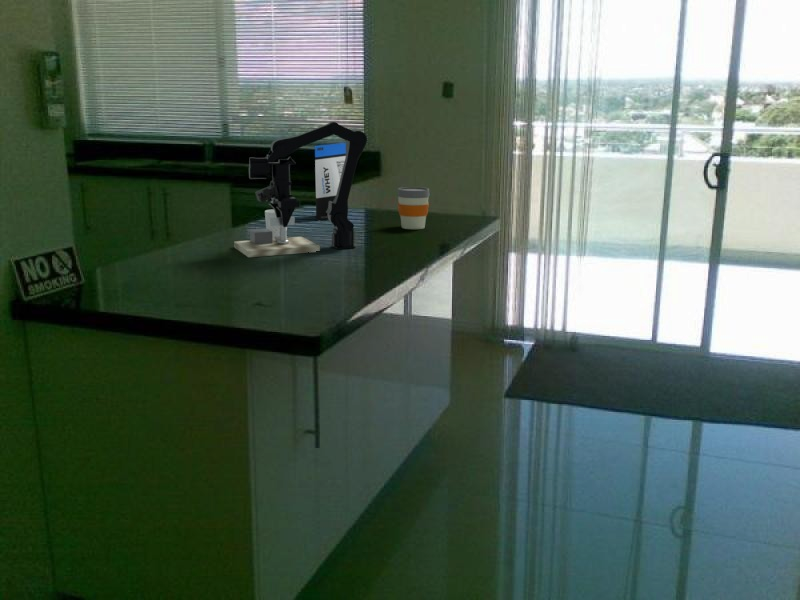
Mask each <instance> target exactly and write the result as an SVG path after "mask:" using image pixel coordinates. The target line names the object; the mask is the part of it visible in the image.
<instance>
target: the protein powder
mask: <svg viewBox="0 0 800 600" xmlns="http://www.w3.org/2000/svg"><path fill="white" fill-rule="evenodd" d="M345 158H346V142H342V143H341V142H340V143H332V144H321V145H315V146H314V162H315V163H314V165H315V167H314V172H315V221H316V222H319V221H318V220H321V221H329V219H328V217H327V214H328V213H327V212H326V211H327V209H328V204H329V201H331V202H333V201H334V199H335V197H336V194H337V190H338V186H339V182H340V178H341V174H342V170H343V166H344V162H345Z"/></svg>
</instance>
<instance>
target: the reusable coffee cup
mask: <svg viewBox="0 0 800 600" xmlns="http://www.w3.org/2000/svg"><path fill="white" fill-rule="evenodd" d="M430 196H431V194H430V188H428V187H423V186H422V187H421V186H406V187H405V186H403V187H398V188H397V198H398V202H397V205H398V206H397V208H398V214H399V216H400V224H401V228H402V229H405V230H422V229H425V226H426V220H427V216H428V212H429V205H430V204H429V197H430Z"/></svg>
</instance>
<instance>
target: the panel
mask: <svg viewBox="0 0 800 600" xmlns="http://www.w3.org/2000/svg"><path fill="white" fill-rule="evenodd" d="M286 239H287V240H289V243H287V244H278V243H277V241H276V240H275V239H272V241H273V243H269V244H256V245H255V244H253V243H252V242H250V239H249V240H237V241H235V240H234V241H233V247H234V248H235V250H237V251H239V252H240V253H241V254H242V255H244V256H246V257H247V258H256V257H257V258H258V257H269V256H271V257H272V256H284V255H294V254H308V252H309V253H317V252H316V251H321V249H320V248H321V247H320V245H319V244H317V243H315V242H313V241H311V240H309V239H307V238H306V237H303V236H292V237H286Z"/></svg>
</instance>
